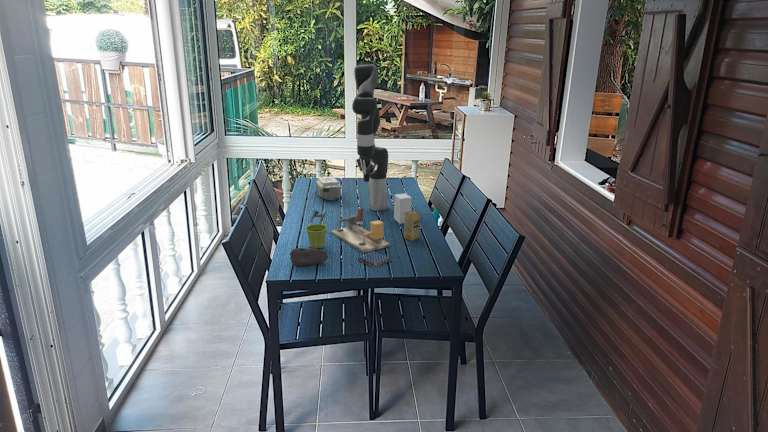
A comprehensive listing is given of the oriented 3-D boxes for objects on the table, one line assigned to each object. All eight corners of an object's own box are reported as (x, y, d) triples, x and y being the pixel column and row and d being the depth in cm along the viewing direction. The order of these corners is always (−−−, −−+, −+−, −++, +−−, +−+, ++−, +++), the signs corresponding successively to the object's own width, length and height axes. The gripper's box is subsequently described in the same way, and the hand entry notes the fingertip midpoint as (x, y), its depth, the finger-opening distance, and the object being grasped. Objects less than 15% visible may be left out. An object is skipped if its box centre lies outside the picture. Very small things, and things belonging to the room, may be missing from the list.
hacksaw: (314, 212, 268) (314, 210, 267) (334, 213, 267) (334, 210, 267) (305, 228, 245) (305, 226, 244) (327, 229, 244) (327, 226, 244)
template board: (357, 227, 246) (357, 213, 244) (390, 246, 224) (390, 231, 222) (331, 232, 239) (331, 218, 237) (362, 252, 217) (362, 237, 215)
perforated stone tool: (327, 260, 210) (327, 244, 207) (328, 265, 205) (328, 249, 202) (290, 262, 207) (289, 246, 205) (290, 268, 202) (289, 252, 200)
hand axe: (345, 209, 272) (364, 207, 272) (346, 212, 273) (364, 210, 273) (341, 225, 247) (362, 224, 246) (342, 229, 247) (362, 227, 247)
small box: (411, 222, 253) (412, 197, 249) (399, 224, 251) (400, 198, 247) (405, 217, 260) (405, 193, 256) (393, 218, 258) (394, 194, 254)
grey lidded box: (322, 203, 280) (322, 185, 278) (314, 192, 307) (313, 175, 304) (343, 201, 283) (343, 183, 281) (333, 190, 310) (333, 174, 307)
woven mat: (356, 261, 210) (356, 256, 209) (374, 254, 217) (374, 249, 216) (373, 269, 203) (373, 264, 202) (392, 261, 210) (392, 257, 210)
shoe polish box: (419, 237, 234) (420, 213, 230) (411, 240, 231) (412, 215, 227) (411, 235, 237) (411, 210, 233) (403, 237, 234) (404, 212, 230)
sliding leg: (378, 237, 228) (378, 220, 225) (383, 239, 225) (383, 222, 222) (360, 241, 223) (360, 223, 220) (365, 244, 220) (365, 226, 217)
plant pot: (318, 252, 217) (318, 233, 215) (301, 247, 222) (300, 228, 219) (332, 245, 225) (331, 226, 222) (315, 240, 230) (314, 222, 227)
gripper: (381, 145, 222) (381, 183, 228) (364, 140, 232) (365, 176, 239) (366, 147, 218) (367, 186, 224) (350, 142, 228) (351, 179, 235)
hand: (366, 181), depth 231 cm, fingers closed
